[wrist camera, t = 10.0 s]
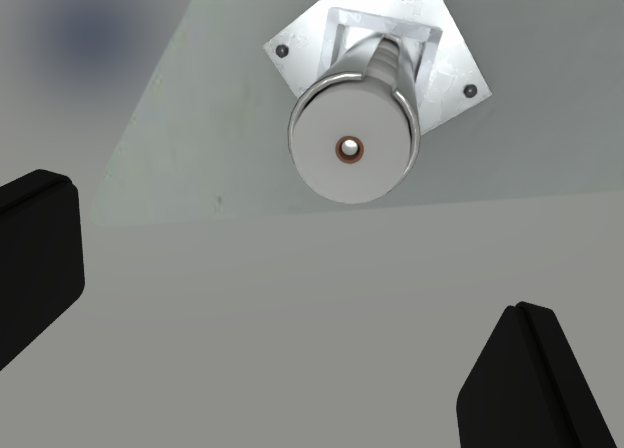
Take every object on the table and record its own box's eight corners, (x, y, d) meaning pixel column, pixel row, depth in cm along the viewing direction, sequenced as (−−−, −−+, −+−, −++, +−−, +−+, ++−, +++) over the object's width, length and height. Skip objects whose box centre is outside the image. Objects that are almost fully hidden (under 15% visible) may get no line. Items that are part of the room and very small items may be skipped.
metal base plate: (406, -68, 38) (407, -78, 32) (490, 93, 42) (502, 106, 37) (265, 45, 44) (246, 52, 39) (350, 173, 49) (344, 195, 43)
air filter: (425, 75, 42) (449, 164, 20) (369, 115, 44) (335, 232, 22) (387, 16, 40) (366, 41, 18) (331, 61, 43) (254, 131, 21)
